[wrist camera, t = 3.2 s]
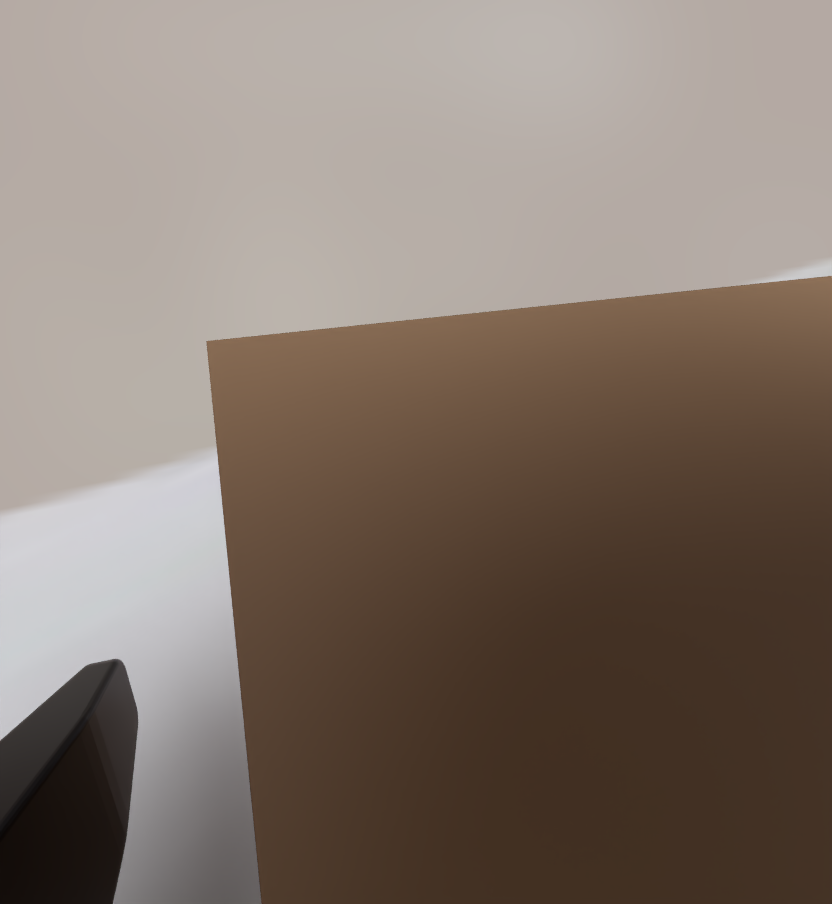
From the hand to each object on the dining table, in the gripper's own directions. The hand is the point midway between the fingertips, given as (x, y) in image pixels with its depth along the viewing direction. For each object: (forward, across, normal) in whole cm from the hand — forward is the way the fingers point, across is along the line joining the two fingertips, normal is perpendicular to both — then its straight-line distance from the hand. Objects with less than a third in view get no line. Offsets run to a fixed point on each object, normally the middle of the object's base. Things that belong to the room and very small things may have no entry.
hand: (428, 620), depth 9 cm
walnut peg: (+4, 0, +6) cm, 7 cm away
